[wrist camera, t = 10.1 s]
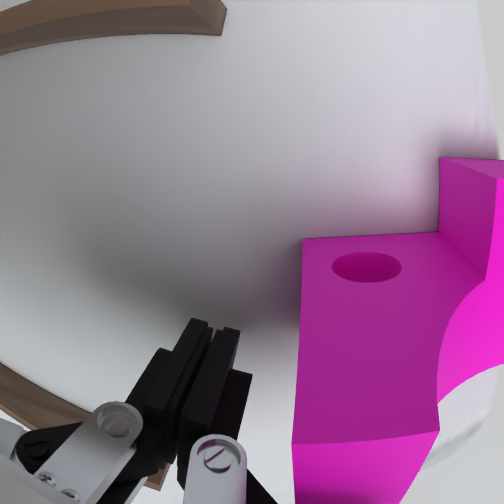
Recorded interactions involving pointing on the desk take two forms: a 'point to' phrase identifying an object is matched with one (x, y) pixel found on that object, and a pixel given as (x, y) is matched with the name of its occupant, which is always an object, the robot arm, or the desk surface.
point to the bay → (73, 28)
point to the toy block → (395, 339)
